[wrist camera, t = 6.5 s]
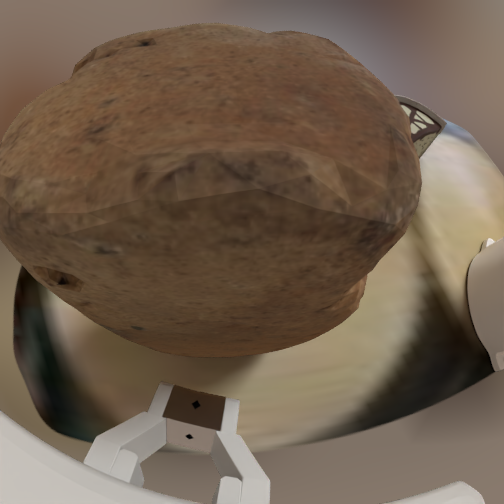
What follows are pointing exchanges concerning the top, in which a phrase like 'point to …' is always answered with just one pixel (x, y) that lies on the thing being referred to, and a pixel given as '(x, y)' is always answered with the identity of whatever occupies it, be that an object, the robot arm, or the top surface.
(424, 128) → the food container
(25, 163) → the block
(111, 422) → the top surface
